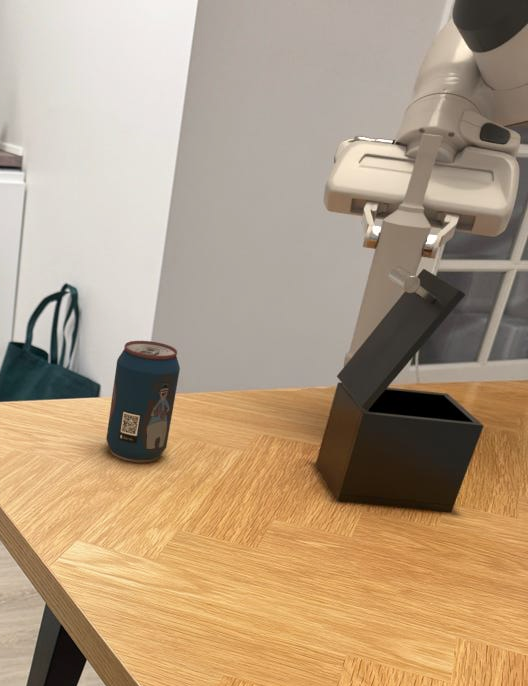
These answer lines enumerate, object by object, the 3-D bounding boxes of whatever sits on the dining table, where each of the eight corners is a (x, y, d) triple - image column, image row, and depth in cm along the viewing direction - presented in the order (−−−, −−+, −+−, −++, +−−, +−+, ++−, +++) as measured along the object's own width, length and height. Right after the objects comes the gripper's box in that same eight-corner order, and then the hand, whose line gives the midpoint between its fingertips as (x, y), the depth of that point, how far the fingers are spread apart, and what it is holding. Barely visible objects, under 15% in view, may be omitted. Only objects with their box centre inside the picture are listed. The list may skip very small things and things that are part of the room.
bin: (419, 474, 106) (447, 393, 100) (451, 512, 97) (484, 425, 91) (315, 464, 105) (337, 382, 100) (337, 501, 96) (363, 413, 91)
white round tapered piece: (361, 380, 104) (432, 136, 90) (332, 366, 108) (396, 130, 94) (394, 378, 106) (469, 139, 92) (365, 365, 110) (432, 134, 96)
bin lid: (429, 272, 93) (396, 247, 92) (466, 294, 84) (430, 267, 83) (341, 380, 100) (310, 357, 98) (367, 411, 91) (333, 387, 90)
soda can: (118, 437, 106) (132, 335, 100) (172, 451, 104) (191, 347, 98) (95, 454, 101) (109, 347, 94) (152, 469, 99) (170, 361, 92)
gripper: (344, 113, 101) (308, 214, 99) (537, 136, 95) (502, 245, 93) (339, 155, 107) (305, 252, 105) (520, 180, 101) (487, 283, 99)
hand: (399, 249), depth 99 cm, fingers closed on white round tapered piece, 5 cm apart
